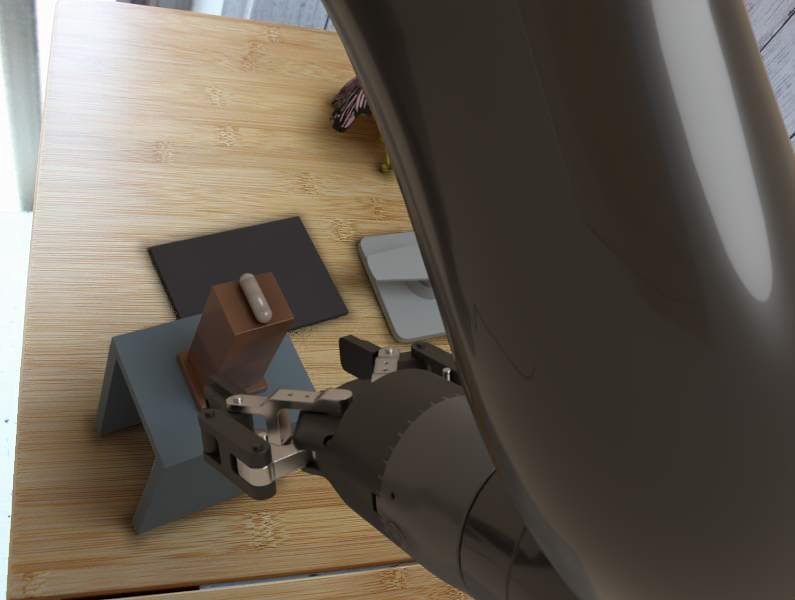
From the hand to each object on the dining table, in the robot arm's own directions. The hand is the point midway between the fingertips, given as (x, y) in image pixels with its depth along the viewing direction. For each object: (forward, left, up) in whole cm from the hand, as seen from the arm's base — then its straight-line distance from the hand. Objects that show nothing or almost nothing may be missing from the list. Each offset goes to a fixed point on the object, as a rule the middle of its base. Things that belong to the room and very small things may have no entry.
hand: (282, 369), depth 49 cm
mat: (+12, +19, -25) cm, 33 cm away
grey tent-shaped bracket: (0, +5, -25) cm, 25 cm away
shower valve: (+29, +14, -25) cm, 40 cm away
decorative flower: (+34, +33, -25) cm, 53 cm away
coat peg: (0, +5, -10) cm, 11 cm away
